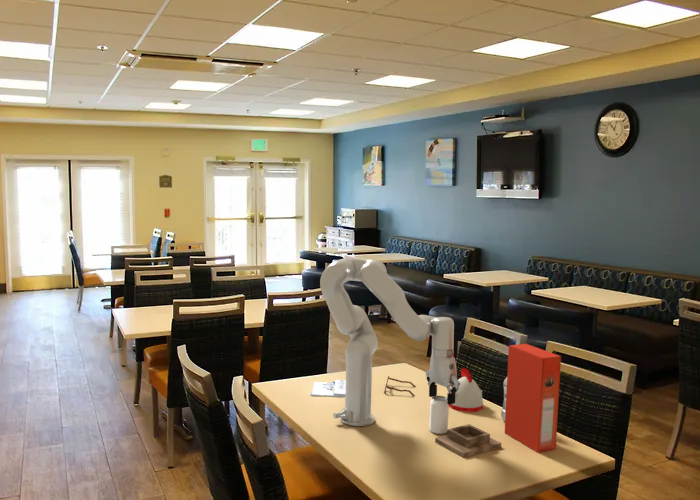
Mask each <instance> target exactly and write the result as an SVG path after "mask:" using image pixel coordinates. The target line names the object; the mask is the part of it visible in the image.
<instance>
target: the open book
mask: <svg viewBox="0 0 700 500" xmlns="http://www.w3.org/2000/svg"><path fill="white" fill-rule="evenodd" d="M332 389H334V390H332ZM345 394H346V379H344V380H343V379H335V380H334V381H333V382H325V381H324V382H323V381H322V382H320V381H314V382H313V388H312V392H311V393H310V397H329V398H330V397H331V398H345Z"/></svg>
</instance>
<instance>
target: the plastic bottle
mask: <svg viewBox="0 0 700 500" xmlns="http://www.w3.org/2000/svg"><path fill="white" fill-rule="evenodd" d="M506 393H507V376H506V378H504V381H503V403H502V410H501V420H502V421H504V422H505V413H506Z"/></svg>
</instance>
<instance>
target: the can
mask: <svg viewBox="0 0 700 500" xmlns="http://www.w3.org/2000/svg"><path fill="white" fill-rule="evenodd" d="M429 404H430V406H429V422H428V423H429V427H428V429H429V432H431V433H432V434H436V435H444V434H445V435H446V434H447V429H449V409H450V407H449V405H448V404H447V396H444V395H436V396H433V397H431V400H430V403H429Z"/></svg>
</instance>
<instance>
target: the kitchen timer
mask: <svg viewBox="0 0 700 500" xmlns="http://www.w3.org/2000/svg"><path fill="white" fill-rule="evenodd" d="M460 375H461V377H460V378H459V379H457V380H458V381H459V382H460V386H459V389H458V390H457V392H456V393H455V403H454V404H450V405H449V409H452V410H454V411H458V412H465V413H475V412H480V411H482V410H483V408H484V400H483V390H482V389H480V387H479V385H478V384H477V382H476V381H475V380H474V379H473V378H474V377H471V376H472V373H470V369H468V368H465V367H462V369H460ZM450 388H451V389H452V387H450Z"/></svg>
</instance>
